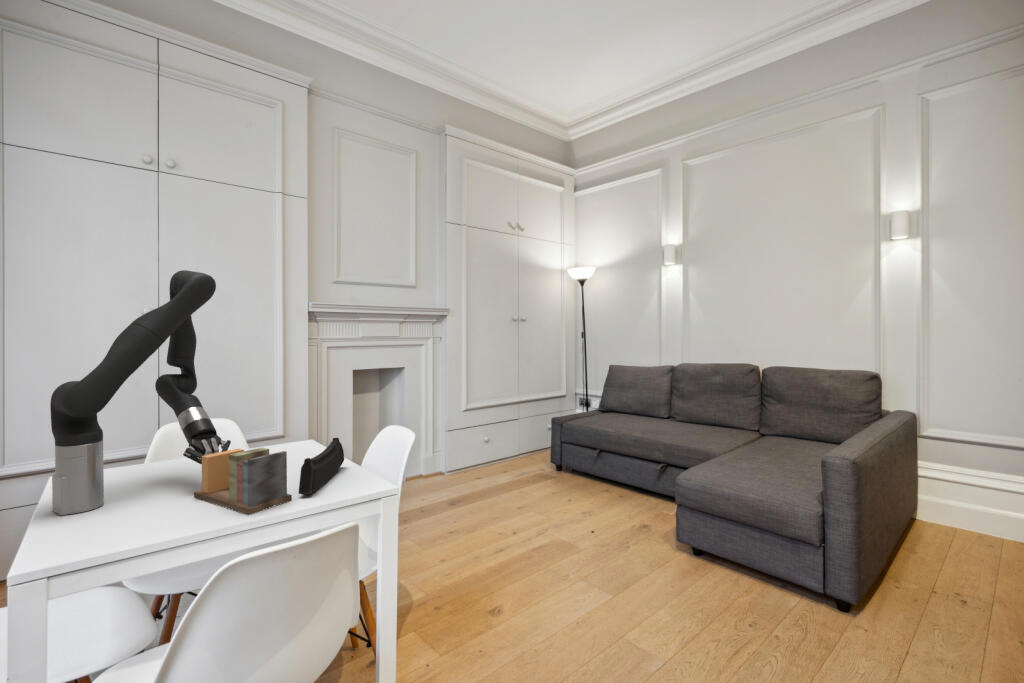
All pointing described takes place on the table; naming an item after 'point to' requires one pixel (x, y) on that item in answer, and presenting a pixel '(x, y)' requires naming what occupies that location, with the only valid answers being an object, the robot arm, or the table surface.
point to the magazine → (321, 468)
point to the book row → (253, 482)
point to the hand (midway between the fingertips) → (219, 471)
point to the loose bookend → (216, 471)
